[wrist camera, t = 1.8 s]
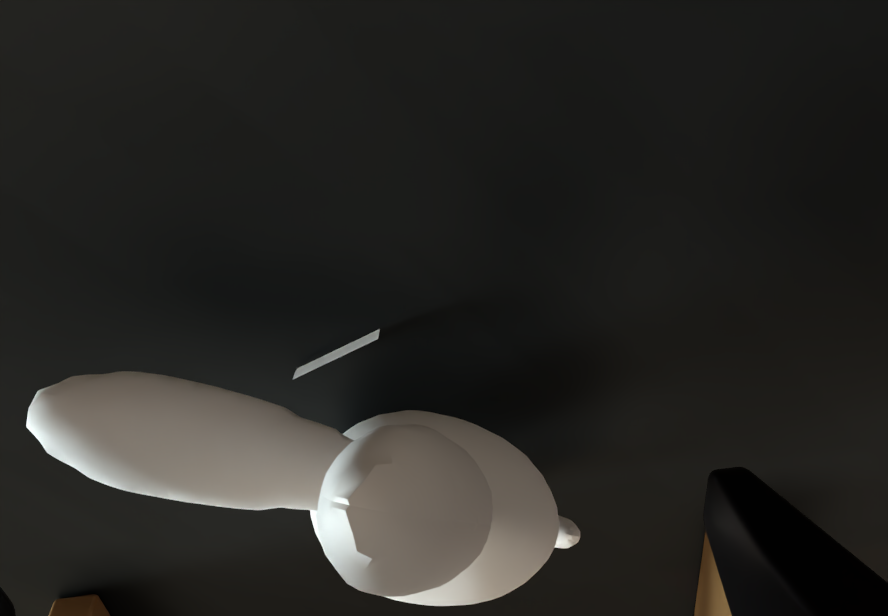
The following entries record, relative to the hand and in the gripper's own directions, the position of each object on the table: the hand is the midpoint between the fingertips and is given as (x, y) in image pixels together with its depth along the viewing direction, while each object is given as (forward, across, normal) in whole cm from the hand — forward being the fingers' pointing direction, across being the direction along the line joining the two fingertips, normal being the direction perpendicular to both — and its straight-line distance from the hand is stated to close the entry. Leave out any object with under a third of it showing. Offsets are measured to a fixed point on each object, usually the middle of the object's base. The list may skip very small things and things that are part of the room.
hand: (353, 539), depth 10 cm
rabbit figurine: (+4, 0, 0) cm, 4 cm away
